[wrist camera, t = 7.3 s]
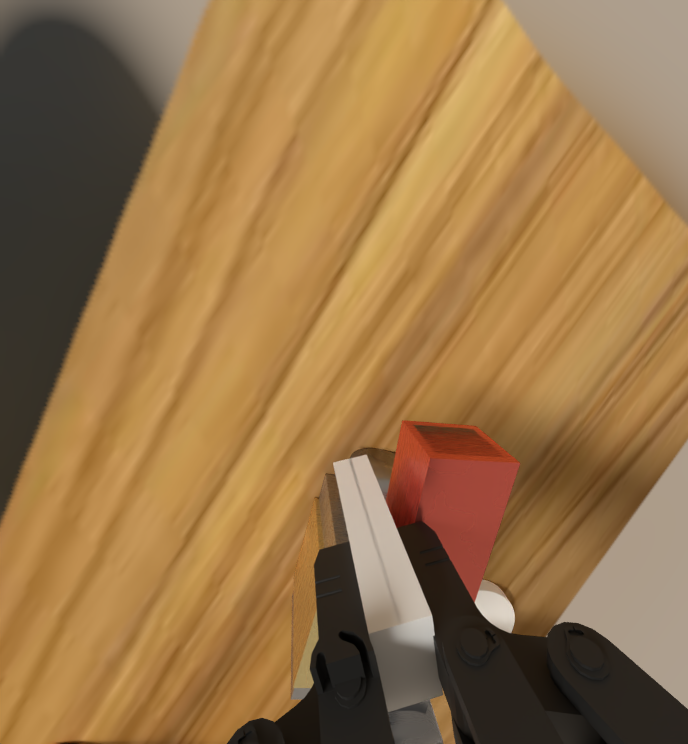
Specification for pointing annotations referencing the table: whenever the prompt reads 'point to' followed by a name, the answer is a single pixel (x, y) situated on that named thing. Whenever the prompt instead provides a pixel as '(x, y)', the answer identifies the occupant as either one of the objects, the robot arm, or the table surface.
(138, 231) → the table surface
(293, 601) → the valve
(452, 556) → the lever
